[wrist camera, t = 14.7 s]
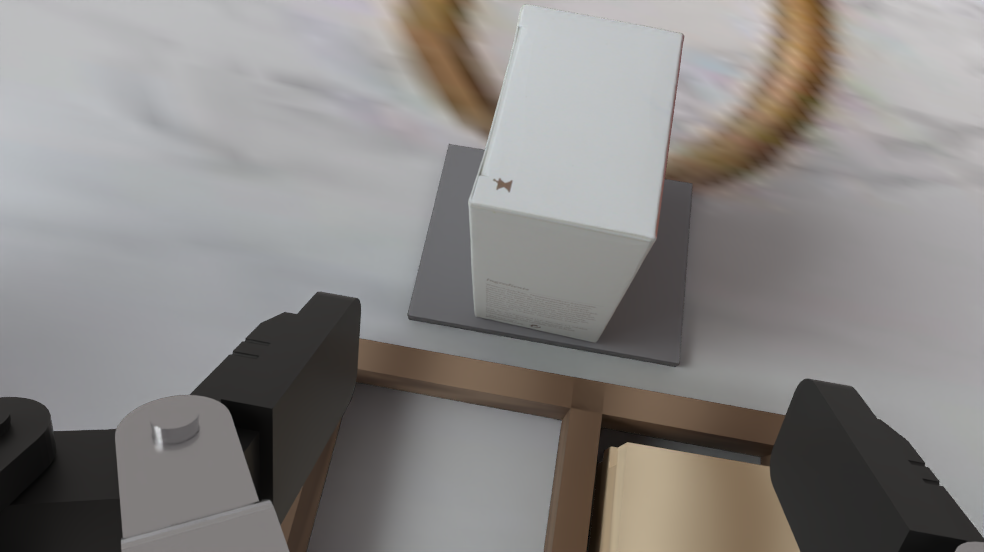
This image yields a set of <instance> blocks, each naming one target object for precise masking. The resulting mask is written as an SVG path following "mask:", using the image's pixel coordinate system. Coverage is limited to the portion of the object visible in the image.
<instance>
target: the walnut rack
mask: <svg viewBox="0 0 984 552" xmlns="http://www.w3.org/2000/svg"><path fill="white" fill-rule="evenodd" d="M356 382H358V383H363V384H369V385H374V386H380V387H385V388H390V389H396V390H401V391H407V392H412V393H418V394H423V395H428V396H434V397H439V398H445V399H450V400H455V401H461V402H466V403H472V404H477V405H482V406H488V407H493V408H499V409H504V410H510V411H515V412H520V413H526V414H531V415H537V416H542V417H547V418H553V419H558V420H562V423H561V430H560V437H559V444H558V452H557V459H556V466H555V473H554V481H553V488H552V495H551V502H550V509H549V517H548V524H547V531H546V538H545V545H544V552H586V550H587V541H588V533H589V524H590V515H591V507H592V498H593V489H594V481H595V472H596V463H597V455H598V446H599V437H600V429H601V427H602V428H607V429H612V430H618V431H623V432H629V433H634V434H639V435H645V436H650V437H656V438H661V439H666V440H672V441H677V442H683V443H688V444H694V445H699V446H704V447H710V448H715V449H721V450H726V451H731V452H737V453H742V454H748V455H753V456H758V457H761V465H763V466H769V467H770V458H771V453H772V449H773V446H774V444H775V441H776V438H777V436H778V433H779V431H780V428H781V426H782V423H783V421H784V418H785V416H786V415H780V414H775V413H769V412H764V411H758V410H753V409H747V408H742V407H736V406H731V405H725V404H720V403H714V402H709V401H703V400H698V399H692V398H686V397H681V396H675V395H670V394H664V393H659V392H653V391H648V390H642V389H637V388H631V387H626V386H620V385H615V384H609V383H603V382H598V381H592V380H587V379H581V378H576V377H570V376H565V375H559V374H554V373H548V372H543V371H537V370H532V369H526V368H521V367H515V366H509V365H504V364H498V363H493V362H487V361H482V360H476V359H471V358H465V357H460V356H454V355H449V354H443V353H438V352H432V351H427V350H421V349H415V348H410V347H404V346H399V345H393V344H388V343H382V342H377V341H371V340H366V339H360V338H359V353H358V370H357V378H356ZM341 419H342V417H341ZM341 419H340V421H339V423H338V424H337V426H336V428H335V430H334V432H333V433H332V435H331V437H330V439H329V440H328V442H327V444H326V446H325V447H324V449H323V451H322V453H321V455H320V456H319V458H318V460H317V462H316V463H315V465H314V467H313V469H312V471H311V472H310V474H309V476H308V478H307V479H306V481H305V483H304V485H303V486H302V488H301V490H300V492H299V494H298V495H297V497H296V499H295V501H294V502H293V504H292V506H291V508H290V510H289V511H288V513H287V515H286V517H285V518H284V520H283V522H282V524H281V525H280V526H281V529H282V532H283V535H284V537H285V540H286V543H287V546H288V549H289V552H306V551H307V547H308V543H309V539H310V536H311V532H312V528H313V524H314V521H315V517H316V513H317V509H318V506H319V502H320V498H321V494H322V491H323V487H324V483H325V479H326V476H327V472H328V468H329V464H330V461H331V457H332V453H333V449H334V446H335V442H336V438H337V434H338V431H339V427H340V423H341Z"/></svg>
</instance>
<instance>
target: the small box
mask: <svg viewBox="0 0 984 552" xmlns="http://www.w3.org/2000/svg"><path fill="white" fill-rule="evenodd" d="M683 41H684V35H683V34H682V33H677V32H672V31H668V30H663V29H658V28H653V27H648V26H643V25H637V24H632V23H626V22H621V21H616V20H610V19H605V18H600V17H594V16H589V15H583V14H578V13H573V12H567V11H562V10H556V9H551V8H546V7H540V6H534V5H529V4H525V5H523V6H522V7H521V9H520V13H519V19H518V24H517V29H516V34H515V39H514V43H513V47H512V51H511V55H510V59H509V63H508V66H507V70H506V74H505V77H504V81H503V85H502V89H501V93H500V97H499V100H498V104H497V108H496V111H495V115H494V119H493V122H492V126H491V130H490V133H489V137H488V141H487V144H486V148H485V151H484V155H483V158H482V161H481V164H480V167H479V170H478V174H477V176H476V179H475V182H474V186H473V189H472V192H471V195H470V197H469V200H468V207H469V223H470V238H471V267H472V284H473V300H474V312H475V316H476V317H480V318H485V319H490V320H494V321H499V322H503V323H508V324H512V325H517V326H521V327H526V328H530V329H535V330H539V331H544V332H548V333H553V334H558V335H562V336H567V337H571V338H576V339H580V340H585V341H589V342H594V343H596V342H597V341H598V340H599V338H600V336H601V334H602V333H603V331H604V329H605V328H606V326H607V324H608V322H609V321H610V319H611V317H612V316H613V314H614V312H615V310H616V308H617V307H618V305H619V303H620V301H621V300H622V298H623V296H624V295H625V293H626V291H627V289H628V288H629V286H630V284H631V282H632V280H633V279H634V277H635V275H636V273H637V272H638V270H639V268H640V266H641V265H642V263H643V261H644V259H645V258H646V256H647V254H648V253H649V251H650V249H651V247H652V246H653V244H654V243H655V241H656V239H657V232H658V225H659V217H660V210H661V202H662V195H663V187H664V180H665V173H666V165H667V158H668V151H669V143H670V135H671V128H672V121H673V114H674V106H675V99H676V91H677V84H678V77H679V70H680V62H681V54H682V46H683Z"/></svg>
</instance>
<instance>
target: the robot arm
mask: <svg viewBox="0 0 984 552" xmlns="http://www.w3.org/2000/svg"><path fill="white" fill-rule="evenodd" d="M360 318H361V304H360V300H359V299H358V298H353V297H347V296H342V295H336V294H330V293H325V292H317V293H316V294H315V295H314V296H313V297H312V298H311V299H310V300H309V302H308V303H307V304H306V305H305V306H304V307H303V308H302V309H301V310H300V312H299V313H298V314H292V313H287V312H284V313H282V314H280V315H277V316H275V317H273V318H271V319H269V320H267V321H264V322H262V323H260V324H259V325H258V326H257V327H256V328H255V329H254V330H253V331H252V332H251V334H250V335H249V336H248V337H247V338H246V340H245V342H242V343H241V344H240V345H239V346H238V347H237V348H236V349H235V350H234V351H233V354H232V355H229V356H228V357H227V358H226V359H225V360H224V361H223V362H222V363H221V364H220V365H219V366H218V367H217V368H216V369H215V370H214V371H213V372H212V373H211V374H210V375H209V376H208V377H207V378H206V379H205V380H204V381H203V382H202V383H201V384H200V385H199V386H198V387H197V388H196V389H195V390H194V391H193V392H192V393H191V394H190V395H178V396H171V397H166V398H161V399H158V400H155V401H151V402H149V403H147V404H144V405H142V406H140V407H138V408H137V409H135V410H133V411H132V412H131V413H129V414H128V415H127V416H126V417H125V418H124V419H123V420H122V421H121V422H120V424H119V425H118V427H117V429H108V430H81V431H53V427H52V421H51V415H50V413H49V410H48V409H47V408H46V407H45V406H44V405H43V404H41V403H39V402H37V401H34V400H31V399H26V398H18V397H2V398H0V552H289V549H288V546H287V543H286V540H285V537H284V535H283V532H282V529H281V526H280V525H281V524H282V522H283V520H284V518H285V517H286V515H287V513H288V511H289V510H290V508H291V506H292V504H293V502H294V501H295V499H296V497H297V495H298V494H299V492H300V490H301V488H302V486H303V485H304V483H305V481H306V479H307V478H308V476H309V474H310V472H311V471H312V469H313V467H314V465H315V463H316V462H317V460H318V458H319V456H320V455H321V453H322V451H323V449H324V447H325V446H326V444H327V442H328V440H329V439H330V437H331V435H332V433H333V432H334V430H335V428H336V426H337V424H338V423H339V421H340V419H341V417H342V416H343V414H344V412H345V410H346V408H347V407H348V405H349V403H350V400H351V398H352V395H353V392H354V388H355V384H356V378H357V370H358V353H359V336H360ZM770 477H771V482H772V485H773V488H774V490H775V492H776V495H777V497H778V500H779V502H780V504H781V507H782V509H783V511H784V514H785V516H786V519H787V521H788V523H789V526H790V528H791V530H792V533H793V535H794V537H795V540H796V542H797V545H798V547H799V549H800V552H984V538H983V537H982V535H981V534H980V533H979V532H978V530H977V529H976V528H975V527H974V525H973V524H972V523H971V521H970V520H969V519H968V518H967V516H966V515H965V514H964V512H963V511H962V510H961V509H960V507H959V506H958V505H957V503H956V502H955V501H954V500H953V498H952V497H951V496H950V494H949V493H948V492H947V491H946V489H945V488H944V487H943V486H939V480H938V479H937V478H936V476H935V475H934V474H933V473H932V471H931V470H930V469H929V468H928V467H925V462H924V461H923V460H922V458H921V457H920V456H919V455H918V453H917V452H916V451H915V449H914V448H913V447H912V446H911V444H910V443H909V442H908V441H907V440H906V439H905V438H903V437H902V436H901V435H900V434H898V433H897V432H896V431H895V430H893V429H892V428H891V427H889V426H888V425H887V424H886V423H884V422H883V421H882V420H880V419H877V418H876V416H875V415H874V414H873V412H872V411H871V410H870V408H869V407H868V406H867V404H866V403H865V402H864V400H863V399H862V398H861V396H860V395H859V394H858V392H857V391H856V390H855V389H854V388H853V387H851V386H847V385H841V384H835V383H830V382H824V381H818V380H813V379H804V380H803V381H801V382H800V384H799V385H798V386H797V388H796V390H795V393H794V395H793V398H792V400H791V403H790V405H789V408H788V411H787V413H786V416H785V418H784V421H783V423H782V426H781V428H780V431H779V433H778V436H777V438H776V441H775V444H774V446H773V449H772V453H771V458H770Z"/></svg>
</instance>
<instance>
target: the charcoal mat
mask: <svg viewBox="0 0 984 552" xmlns="http://www.w3.org/2000/svg"><path fill="white" fill-rule="evenodd" d="M484 151H485V150H482V149H476V148H470V147H464V146H458V145H452V144H449V146H448V150H447V154H446V158H445V162H444V166H443V170H442V175H441V179H440V183H439V187H438V191H437V195H436V199H435V203H434V208H433V212H432V216H431V220H430V224H429V228H428V232H427V236H426V241H425V245H424V249H423V253H422V257H421V261H420V265H419V269H418V273H417V278H416V282H415V286H414V290H413V294H412V298H411V302H410V306H409V311H408V318H409V319H411V320H416V321H422V322H428V323H433V324H439V325H444V326H450V327H456V328H461V329H467V330H472V331H478V332H484V333H489V334H495V335H501V336H506V337H512V338H517V339H523V340H529V341H534V342H540V343H545V344H551V345H557V346H562V347H568V348H573V349H579V350H585V351H590V352H596V353H601V354H607V355H613V356H618V357H624V358H630V359H635V360H641V361H646V362H652V363H658V364H663V365H669V366H674V367H676V366H677V365H678V364H679V363H680V349H681V335H682V321H683V308H684V294H685V280H686V267H687V253H688V239H689V225H690V212H691V198H692V183H686V182H680V181H674V180H667V179H665V180H664V187H663V195H662V202H661V210H660V217H659V225H658V232H657V239H656V241H655V243H654V244H653V246H652V247H651V249H650V251H649V253H648V254H647V256H646V258H645V259H644V261H643V263H642V265H641V266H640V268H639V270H638V272H637V273H636V275H635V277H634V279H633V280H632V282H631V284H630V286H629V288H628V289H627V291H626V293H625V295H624V296H623V298H622V300H621V301H620V303H619V305H618V307H617V308H616V310H615V312H614V314H613V316H612V317H611V319H610V321H609V322H608V324H607V326H606V328H605V329H604V331H603V333H602V334H601V336H600V338H599V340H598V341H597V342H596V343H594V342H589V341H585V340H580V339H576V338H571V337H567V336H562V335H558V334H553V333H548V332H544V331H539V330H535V329H530V328H526V327H521V326H517V325H512V324H508V323H503V322H499V321H494V320H490V319H485V318H480V317H476V316H475V312H474V300H473V284H472V267H471V238H470V223H469V207H468V200H469V197H470V195H471V192H472V189H473V186H474V182H475V179H476V176H477V174H478V170H479V167H480V164H481V161H482V158H483V155H484Z"/></svg>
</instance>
